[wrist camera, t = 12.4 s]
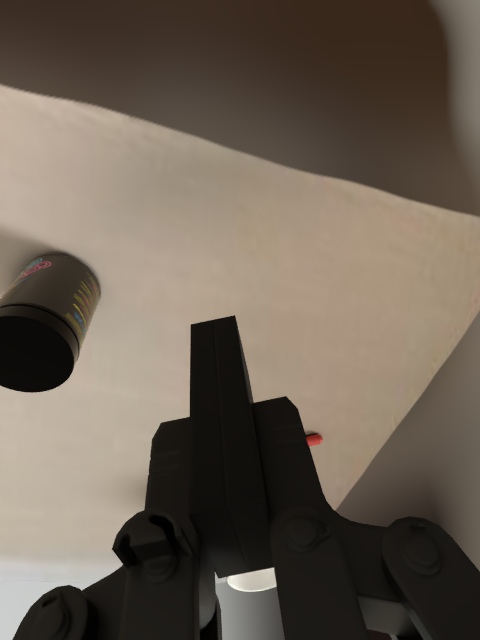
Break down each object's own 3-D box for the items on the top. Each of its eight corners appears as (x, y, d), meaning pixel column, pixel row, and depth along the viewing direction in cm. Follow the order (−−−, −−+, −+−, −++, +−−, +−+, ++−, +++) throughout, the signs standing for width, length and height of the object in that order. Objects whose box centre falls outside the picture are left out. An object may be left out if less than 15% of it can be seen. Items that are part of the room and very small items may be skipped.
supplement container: (70, 237, 33) (28, 299, 25) (117, 298, 37) (94, 370, 28) (6, 270, 34) (-57, 341, 26) (58, 326, 38) (18, 405, 29)
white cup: (273, 515, 60) (286, 588, 52) (222, 520, 59) (227, 594, 51) (277, 484, 56) (292, 558, 48) (222, 489, 55) (227, 565, 47)
